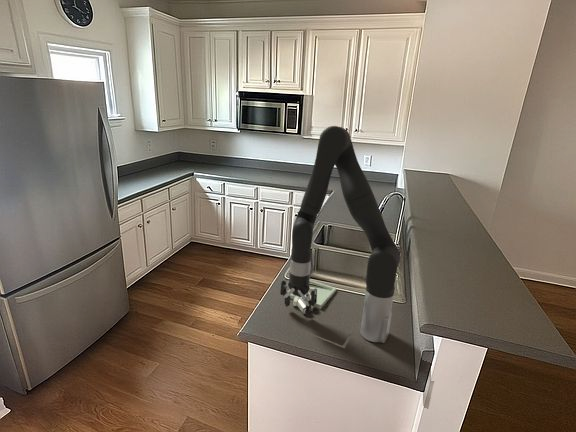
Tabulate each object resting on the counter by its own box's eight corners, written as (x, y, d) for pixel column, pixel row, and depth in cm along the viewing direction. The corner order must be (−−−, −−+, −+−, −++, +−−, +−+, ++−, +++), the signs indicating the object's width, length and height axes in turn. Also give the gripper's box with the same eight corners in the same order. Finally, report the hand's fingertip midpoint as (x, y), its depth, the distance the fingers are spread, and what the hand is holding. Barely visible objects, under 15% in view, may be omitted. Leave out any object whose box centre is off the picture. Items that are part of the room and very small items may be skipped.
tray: (336, 292, 145) (336, 288, 145) (320, 309, 132) (320, 305, 131) (303, 281, 153) (303, 277, 152) (285, 297, 139) (285, 293, 139)
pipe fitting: (308, 317, 127) (314, 309, 133) (310, 308, 126) (315, 300, 132) (289, 311, 130) (295, 303, 136) (290, 302, 129) (296, 294, 135)
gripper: (322, 272, 122) (318, 310, 127) (288, 261, 129) (286, 299, 134) (313, 280, 116) (309, 320, 121) (278, 269, 123) (276, 307, 128)
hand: (297, 309), depth 128 cm, fingers open, 8 cm apart
